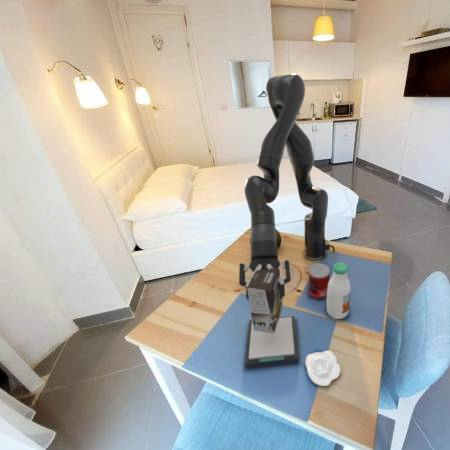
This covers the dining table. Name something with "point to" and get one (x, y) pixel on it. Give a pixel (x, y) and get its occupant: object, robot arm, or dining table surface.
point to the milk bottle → (338, 292)
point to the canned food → (318, 280)
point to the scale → (272, 345)
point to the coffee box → (265, 300)
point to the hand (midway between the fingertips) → (266, 300)
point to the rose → (322, 367)
